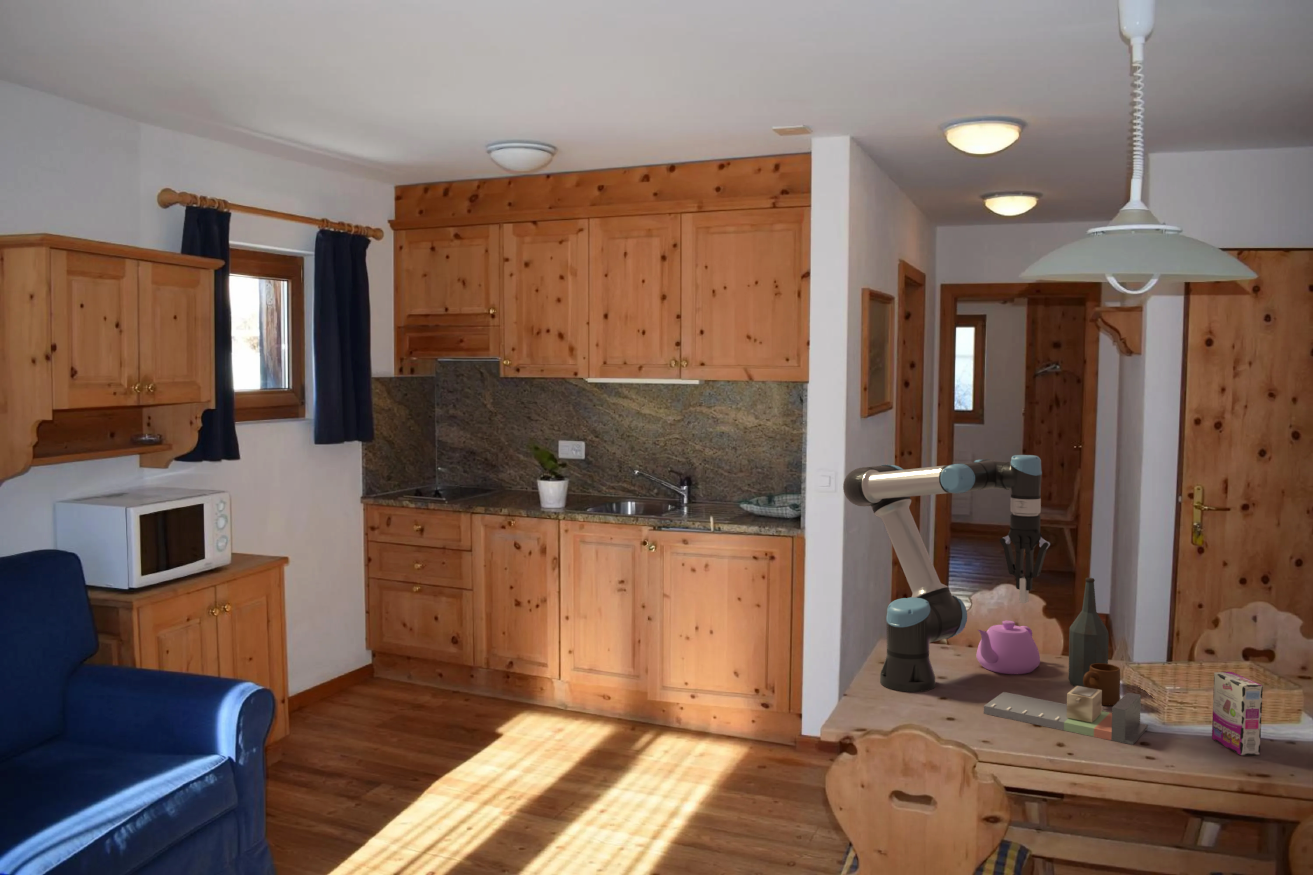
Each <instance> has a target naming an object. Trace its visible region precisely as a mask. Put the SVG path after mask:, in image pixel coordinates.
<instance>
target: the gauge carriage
mask: <svg viewBox="0 0 1313 875" xmlns="http://www.w3.org/2000/svg"><path fill="white" fill-rule="evenodd" d="M1066 704H1067V718H1071V719H1076V720H1081V721H1086V722H1091V723H1092V722H1093V721H1094V720H1095V719H1096V718H1097V717H1098V716H1099V715H1101V711H1102V709H1103V708H1102V706H1103V705H1102V690H1098V689H1093V688H1087V687H1082V686H1074V688H1072V689H1071V690H1070V691H1069V692H1067V693H1066Z"/></svg>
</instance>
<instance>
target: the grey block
mask: <svg viewBox="0 0 1313 875" xmlns="http://www.w3.org/2000/svg"><path fill="white" fill-rule="evenodd" d="M1141 698H1142V695H1141V694H1139V693H1133V692H1126V694H1124V695H1123V696H1122V697H1120V700H1119V701H1118V702H1117V703H1116V704H1115V705H1114V706H1111V713H1112V736H1111V740H1110V741H1113V742H1118V743H1122V744H1128V745H1131V746H1132V745H1133V746H1134V744H1135V743H1136V742H1137V741H1138V740H1139V739H1140V737H1141V736H1142V735H1143V734H1144V733H1145V732H1146V731H1147V730H1148V729H1149V725H1148V724H1146V723H1141V700H1142V699H1141Z"/></svg>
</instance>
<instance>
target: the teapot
mask: <svg viewBox="0 0 1313 875" xmlns="http://www.w3.org/2000/svg"><path fill="white" fill-rule="evenodd" d="M977 631H978V632H979V633H980V636H981V639H980V641H979V643H978V646H977V649H976V655H975V656H976V660H977V662H978V663H979V664H980V665H981V667H983V668H984V669H985V670H987V671H990V672H994V673H998V674H1004V675H1024V674H1029V673H1032V672H1033V671H1035V669H1037V668H1038V666H1040V663H1041V656H1040V652H1039V651H1040V650H1039V648H1038V646H1037V643H1036V642H1035V639H1034V638H1033V631H1032V629H1031V628H1030V627H1029V626H1026V625H1021V626H1019V625H1016V622H1015V621H1013V620H1002V621H1001V624H994V625H991V626H989V628H988V629H987V631H985V630H981V629H977Z"/></svg>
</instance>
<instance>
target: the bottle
mask: <svg viewBox="0 0 1313 875" xmlns="http://www.w3.org/2000/svg"><path fill="white" fill-rule="evenodd" d="M1095 580H1096V579H1095V578H1093V577H1086V578H1085V587H1084V595H1083V600H1082V601H1083V602H1082V610H1081V611H1080V612H1079V614H1078V615H1077V617H1076V618H1075V619H1074V621H1073V622H1072V623H1071V625H1070V626H1069V631H1068V632H1069V637H1068V639H1069V640H1068V644H1069V645H1068V682H1069V683H1070V685H1072V686H1074V687H1076V686H1082V687H1084V684H1083V677H1084V675H1085V673H1087V672H1089V669H1090V665H1091V664H1095V663H1105V664H1109V640H1110V639H1109V630H1108V629H1107V627H1106V625H1105V623H1104V622H1103V620H1102V619H1101V617H1100V616H1099V614H1098V612H1097V601H1096V593H1095V592H1096V591H1095V590H1096V589H1095Z"/></svg>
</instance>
